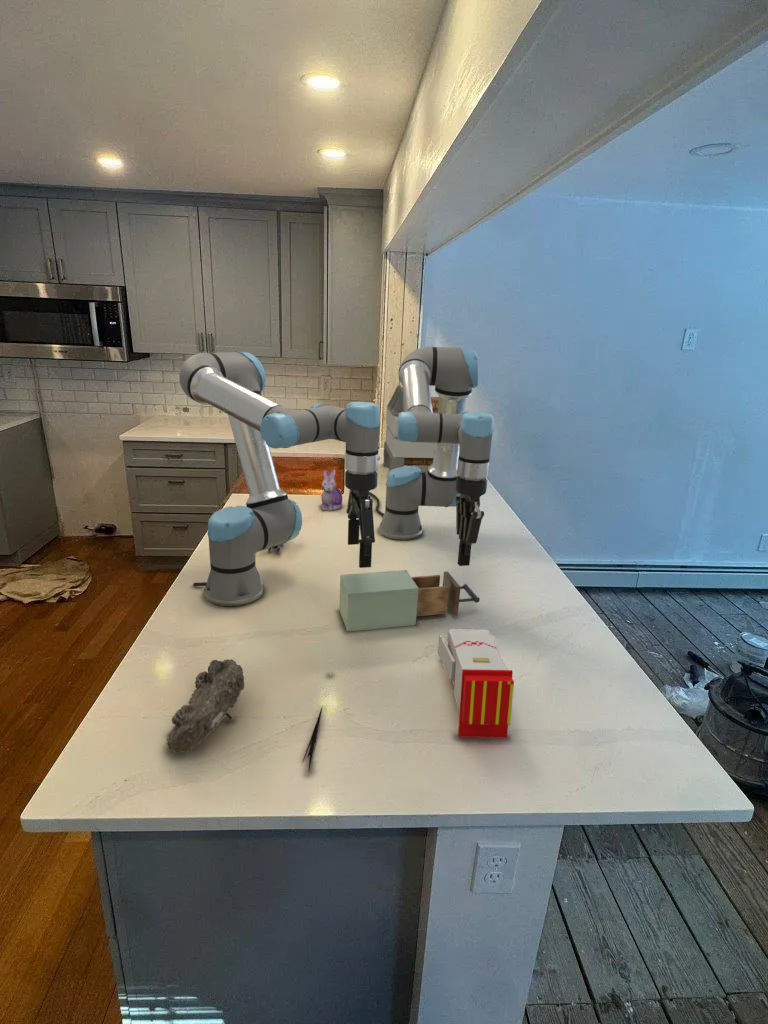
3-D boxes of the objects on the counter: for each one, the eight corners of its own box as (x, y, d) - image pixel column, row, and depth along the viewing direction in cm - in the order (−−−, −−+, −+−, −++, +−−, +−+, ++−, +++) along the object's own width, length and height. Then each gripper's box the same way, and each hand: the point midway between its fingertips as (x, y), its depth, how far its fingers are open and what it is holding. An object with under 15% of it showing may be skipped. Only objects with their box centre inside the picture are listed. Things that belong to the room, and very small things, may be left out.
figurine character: (283, 559, 179) (290, 536, 192) (282, 538, 176) (289, 516, 189) (262, 558, 179) (270, 535, 192) (261, 537, 175) (269, 515, 189)
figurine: (325, 512, 217) (325, 474, 211) (315, 504, 225) (315, 467, 220) (347, 509, 221) (348, 472, 216) (337, 501, 229) (337, 465, 224)
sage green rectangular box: (404, 605, 152) (406, 569, 149) (415, 624, 143) (418, 588, 139) (339, 610, 148) (340, 574, 144) (347, 631, 138) (348, 593, 135)
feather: (331, 679, 122) (336, 673, 122) (307, 777, 96) (313, 769, 95) (324, 675, 122) (329, 669, 121) (298, 772, 95) (304, 764, 95)
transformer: (382, 463, 289) (386, 382, 275) (445, 464, 293) (451, 384, 279) (390, 482, 257) (394, 392, 243) (460, 483, 261) (468, 394, 247)
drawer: (465, 597, 156) (468, 569, 153) (479, 613, 147) (482, 585, 145) (387, 604, 150) (389, 575, 147) (397, 621, 142) (398, 592, 139)
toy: (488, 613, 130) (523, 677, 101) (484, 667, 133) (517, 744, 104) (435, 612, 130) (455, 676, 101) (432, 666, 133) (451, 743, 103)
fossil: (192, 660, 117) (244, 628, 112) (224, 691, 120) (276, 661, 115) (142, 746, 98) (202, 712, 93) (182, 779, 101) (242, 748, 96)
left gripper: (391, 486, 120) (386, 576, 127) (365, 456, 143) (362, 534, 150) (356, 487, 118) (354, 578, 126) (336, 457, 141) (334, 536, 148)
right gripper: (497, 484, 133) (487, 574, 141) (475, 469, 145) (467, 553, 153) (468, 485, 131) (459, 576, 139) (448, 470, 143) (441, 555, 151)
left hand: (358, 555), depth 138 cm, fingers open, 13 cm apart
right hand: (463, 564), depth 146 cm, fingers closed
